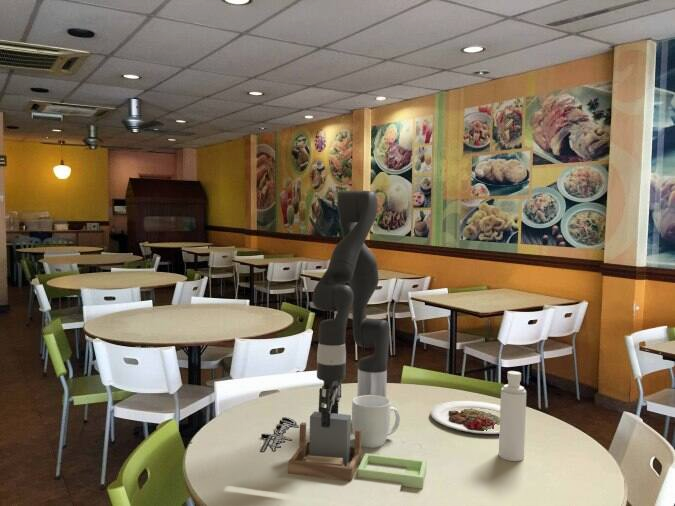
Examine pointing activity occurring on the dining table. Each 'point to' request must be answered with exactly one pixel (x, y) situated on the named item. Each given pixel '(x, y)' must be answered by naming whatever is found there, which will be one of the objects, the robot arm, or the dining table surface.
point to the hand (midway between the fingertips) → (329, 421)
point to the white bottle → (512, 419)
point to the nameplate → (278, 439)
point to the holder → (410, 478)
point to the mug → (373, 419)
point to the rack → (325, 470)
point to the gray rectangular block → (330, 437)
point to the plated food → (467, 416)
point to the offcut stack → (325, 460)
